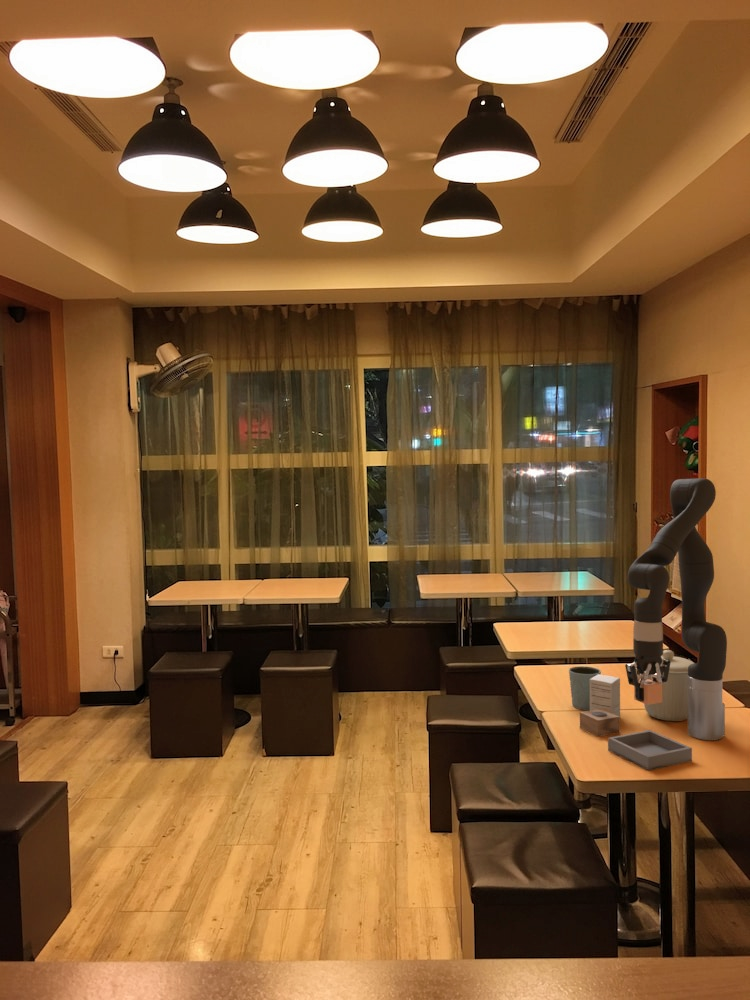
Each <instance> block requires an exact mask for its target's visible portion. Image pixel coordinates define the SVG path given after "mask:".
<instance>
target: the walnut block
mask: <svg viewBox="0 0 750 1000" xmlns="http://www.w3.org/2000/svg"><path fill="white" fill-rule="evenodd" d="M579 729H582V730H583V731H585V732H588V733H589V734H591V735H594V736H596V737H603V736H608V735H609V736H610V735H613V734H614V733H615V734H619V733H620V717H619V716H617V715H614V714H612V713H610V712H607V711H605V710H603V709H596V710H584V711H580V712H579Z"/></svg>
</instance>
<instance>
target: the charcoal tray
mask: <svg viewBox="0 0 750 1000" xmlns="http://www.w3.org/2000/svg"><path fill="white" fill-rule="evenodd" d="M607 738H608V739H607V749H608V752H611V753H613V754H615V755H617V756H619V757H621V758H622V759H625V760H627V761H628V762H631V763H633V764H634V765H637V766H638V767H639V768H643V769H645V770H646V771H648V772H649V771H653V770H657V769H662V768H665V767H666V768H667V767H670V766H676V765H681V764H685V763H690V762H692V761H693V748H692V747H690V746H688V745H686V744H684V743H681V742H679V741H677V740H675V739H671V738H669V737H667V736H665V735H663V734H661V733H658V732H656V731H653V730H651V729H647V730H641V731H638V732H637V731H636V732H632V733H628V734H622V735H620V734H619V735H615V736H610V737H607Z"/></svg>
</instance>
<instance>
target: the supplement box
mask: <svg viewBox="0 0 750 1000" xmlns="http://www.w3.org/2000/svg"><path fill="white" fill-rule="evenodd" d="M596 709H603V710H605V711H607V712H610V713H612V714H614V715H617V716H619V718H621V679H620V677H617V676H612V675H605V674H601V675H600V674H598V675H596V676H594V677H593V678H591V679H590V710H596ZM590 710H589V711H590Z"/></svg>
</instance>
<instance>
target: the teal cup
mask: <svg viewBox="0 0 750 1000" xmlns="http://www.w3.org/2000/svg"><path fill="white" fill-rule="evenodd" d="M601 672H602V671H601V670H600V669H599V668H596V667H592V666H584V665H583V666H581V665H580V666H573V667H570V668H569V670H568V675H569V681H570V682H569V683H570V693H571V704H572V707H574V708H575V709H577V710H578V709H579V710H584V711H590V679H591V678H593V677H594V676H596V675H598V674H600V675H602V673H601Z"/></svg>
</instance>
